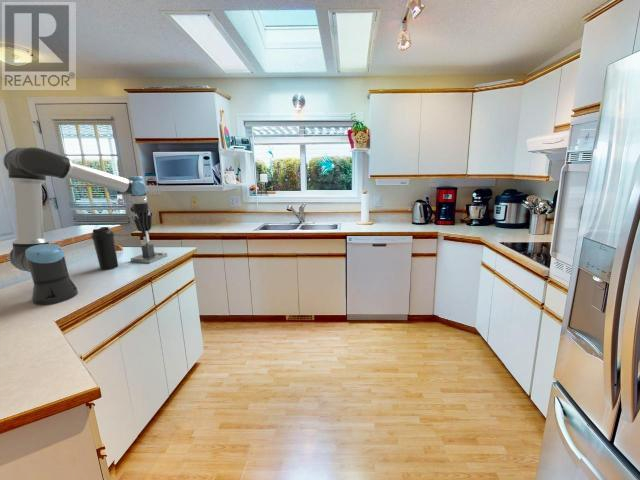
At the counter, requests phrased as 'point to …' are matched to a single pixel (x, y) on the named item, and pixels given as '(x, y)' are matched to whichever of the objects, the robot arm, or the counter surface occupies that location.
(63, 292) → the robot arm
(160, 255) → the socket
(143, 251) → the plug
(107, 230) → the water bottle
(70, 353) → the counter surface
